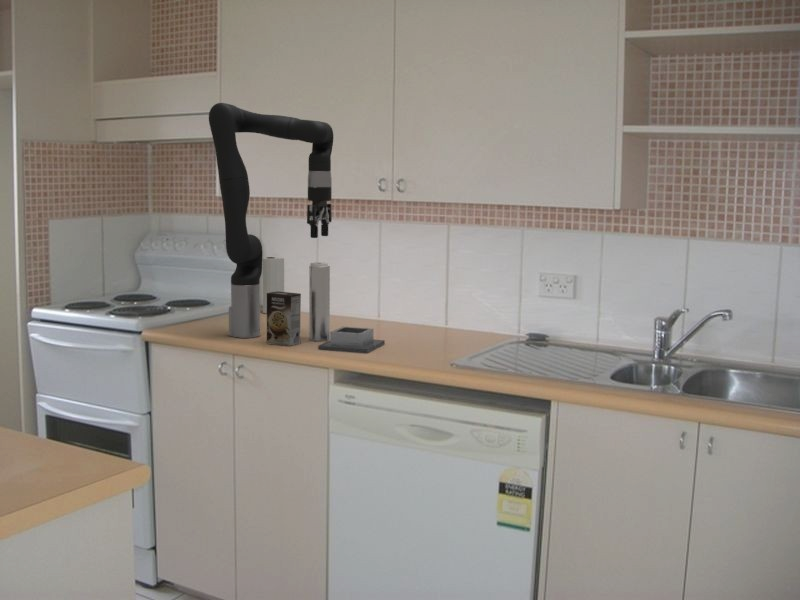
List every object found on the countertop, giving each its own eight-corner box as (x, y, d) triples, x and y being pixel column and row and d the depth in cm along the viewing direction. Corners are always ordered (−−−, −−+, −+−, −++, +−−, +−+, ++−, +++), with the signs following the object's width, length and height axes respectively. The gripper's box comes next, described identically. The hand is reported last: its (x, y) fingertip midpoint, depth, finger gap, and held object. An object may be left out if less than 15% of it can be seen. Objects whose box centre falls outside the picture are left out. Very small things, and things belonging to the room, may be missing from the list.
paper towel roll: (259, 313, 342) (259, 257, 339) (271, 311, 346) (271, 256, 343) (272, 315, 337) (272, 258, 334) (284, 313, 342) (284, 257, 339)
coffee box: (265, 343, 282) (265, 292, 279) (277, 340, 287) (276, 290, 285) (290, 346, 278) (290, 295, 275) (301, 343, 283) (301, 292, 281)
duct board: (318, 349, 274) (318, 332, 273) (337, 340, 289) (337, 324, 288) (367, 353, 269) (367, 336, 268) (384, 344, 284) (384, 327, 283)
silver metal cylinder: (326, 342, 286) (326, 264, 282) (306, 340, 287) (306, 263, 283) (331, 338, 292) (332, 262, 288) (312, 337, 293) (312, 261, 290)
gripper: (317, 185, 290) (317, 235, 293) (299, 185, 277) (299, 238, 279) (339, 185, 288) (338, 236, 290) (321, 186, 275) (321, 238, 277)
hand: (319, 236), depth 285 cm, fingers open, 8 cm apart
